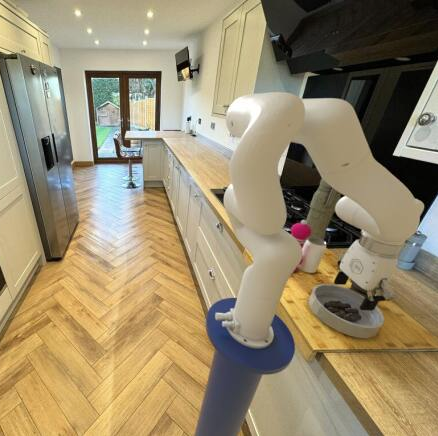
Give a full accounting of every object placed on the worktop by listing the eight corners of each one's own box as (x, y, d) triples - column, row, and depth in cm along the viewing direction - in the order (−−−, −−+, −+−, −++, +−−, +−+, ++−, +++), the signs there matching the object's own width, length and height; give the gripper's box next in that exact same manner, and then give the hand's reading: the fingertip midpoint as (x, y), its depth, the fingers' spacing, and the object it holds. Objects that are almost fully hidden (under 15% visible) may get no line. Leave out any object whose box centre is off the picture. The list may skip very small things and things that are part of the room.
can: (294, 267, 89) (304, 240, 83) (298, 260, 93) (309, 234, 88) (313, 276, 85) (325, 248, 79) (317, 268, 89) (329, 241, 83)
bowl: (331, 338, 62) (338, 326, 60) (297, 293, 76) (301, 283, 74) (393, 340, 62) (401, 328, 60) (347, 295, 76) (352, 284, 74)
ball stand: (356, 306, 72) (373, 277, 67) (335, 286, 80) (349, 258, 75) (385, 307, 72) (404, 278, 67) (361, 287, 80) (377, 259, 75)
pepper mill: (273, 261, 92) (288, 215, 83) (292, 262, 92) (309, 216, 83) (282, 273, 86) (299, 224, 77) (302, 274, 85) (322, 225, 77)
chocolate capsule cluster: (333, 323, 65) (336, 318, 65) (317, 303, 72) (319, 298, 71) (366, 324, 65) (369, 319, 65) (347, 304, 72) (349, 300, 71)
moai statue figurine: (300, 250, 100) (331, 168, 85) (293, 236, 110) (319, 162, 95) (324, 254, 98) (360, 171, 82) (314, 240, 108) (345, 164, 93)
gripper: (338, 227, 66) (318, 275, 74) (396, 265, 50) (363, 321, 58) (365, 227, 66) (342, 275, 73) (431, 266, 50) (393, 322, 58)
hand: (351, 295), depth 66 cm, fingers open, 9 cm apart
